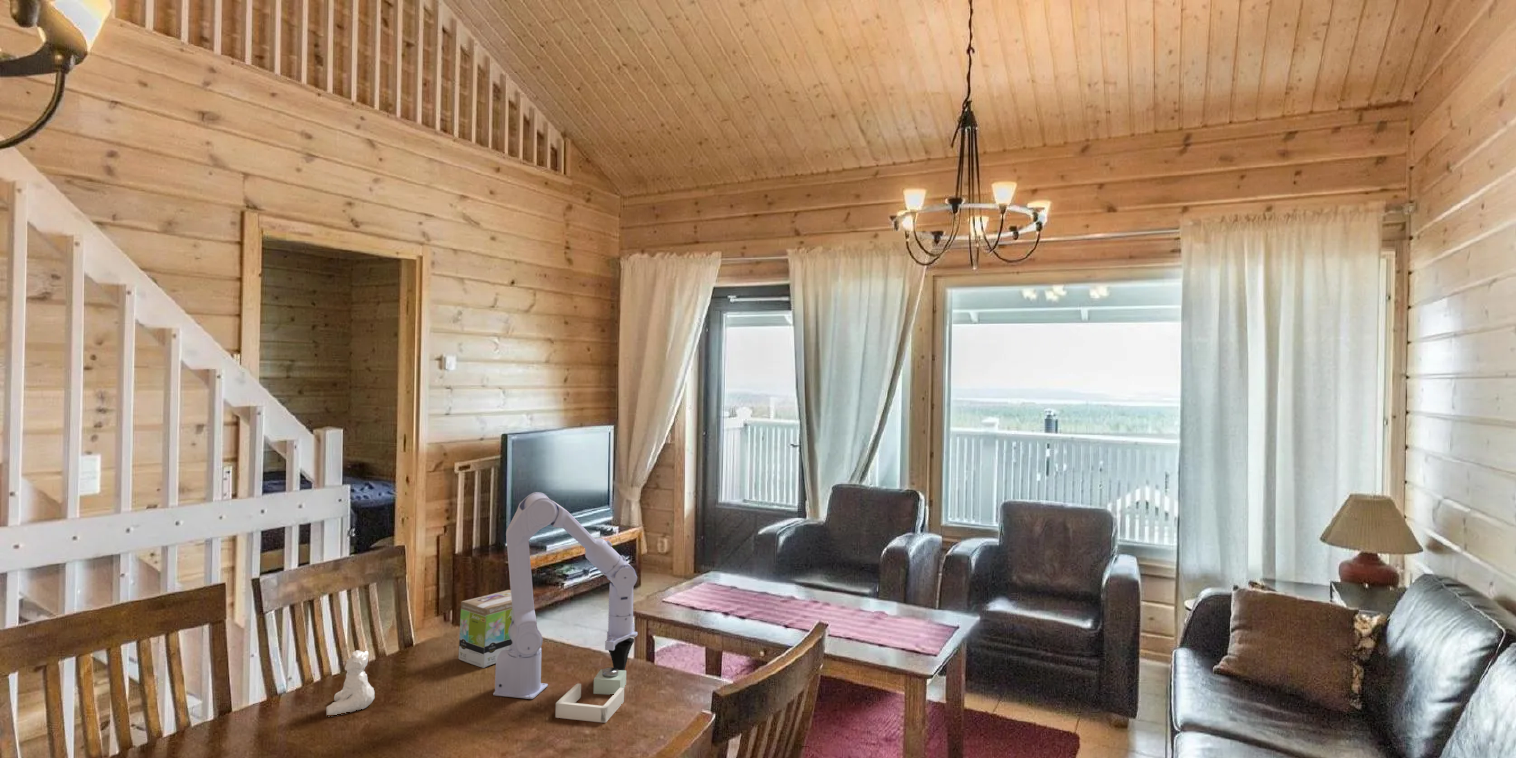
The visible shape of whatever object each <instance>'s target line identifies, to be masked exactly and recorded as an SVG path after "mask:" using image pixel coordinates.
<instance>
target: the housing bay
mask: <svg viewBox="0 0 1516 758" xmlns="http://www.w3.org/2000/svg"><path fill="white" fill-rule="evenodd" d="M581 698H582V683H576V684H575V685H574V686H573V687H572V688H570V689H569V690H568V691H567V692H566V693H565V694H564V695H563V696H562V697H560V698H559V700H557V701H556V702H555V714H554V715H555V718H557V719H559V718H560V719H565V720H566V719H567V720H575V721H576V720H577V721H586V722H594V723H603V724H604V723H605V724H606V723H607V722H608V720H610V719H611V717H612V716H613V715H614V714H615V712H617V710H618V709H619V708H620V707H621V706H622V705H623V703H624V702H625V687H624V688H619V689H618V690H617V691H616V692H615V694H614V695H612V696H611V697H610V698H609V699H608V700H607V701H606V702H605V703H604V704H603V705H597V704H588V703H578V702H577V701H579V700H580V699H581ZM621 704H622V705H621Z"/></svg>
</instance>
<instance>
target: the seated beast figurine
mask: <svg viewBox="0 0 1516 758" xmlns="http://www.w3.org/2000/svg"><path fill="white" fill-rule="evenodd" d="M369 656H370V653H369V651H368V650H365V651H362V650H360V649H358V650H357V649H356V650H355V651H352V653H351V656H350V657H349V658H347V659H346V665H345V667H344V670H345V671H346V673H345V679H344V682H343V686H342V689H341V690H340V691H337V692H336V693H335V694H334V698H333V699H334V700H333V701H334V702H333V701H332V703H331V704H329V705H327V706H326V707H325V708H326V709H325V710H326V716H327V715H337V714H341V713H345V714H347V713H346V712H350V713H353V712H357V711H360V710H361V709H362V710H365V709H366V708H368V707H369V705H371V704H372V703H373V701H374V700H375V694H376V693H375V690H374V689H375V687H373V686H372V685H371V684H370V682H369V679H368V674H367V673H366V671H365V669H366V667H367V666H368V664H369V663H368V662H369ZM356 710H357V711H356ZM341 715H342V714H341ZM337 716H338V715H337Z"/></svg>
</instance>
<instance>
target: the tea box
mask: <svg viewBox="0 0 1516 758" xmlns="http://www.w3.org/2000/svg"><path fill="white" fill-rule="evenodd" d="M511 613H512V600H511V589H506V590H502V591H498V592H494V593H490V594H486V595H482V596H478V597H474V598H469V599H466V600H462V601H461V602H460V616H459V617H460V619H459V644H458V660H460V661H462V662H464V663H468V664H471V665H474V666H475V667H480V668H481V669H484V668H486V667H489V666H491V665H492V666H493V665H494V664H495V665H496V661H497V658H498V655H499V654H500V652H501V651H503V650H508V649H509V648H510V646H511V644H512V640H511V639H510V637H509V633H508V631H509V627H510V624H511V621H512V616H511Z"/></svg>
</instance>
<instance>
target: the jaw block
mask: <svg viewBox="0 0 1516 758" xmlns="http://www.w3.org/2000/svg"><path fill="white" fill-rule="evenodd" d="M625 685H626V686H627V670H626V669H625V670H618V669H617V668H614V667H609V666H608V667H604V668H600V670H599V671H598V673H597V674H596V675H595V677H594V678H593V695H596V694H597V695H610V694H615V692H616V691H617V690H618V689H619V688H624V689H625V687H626V686H625Z"/></svg>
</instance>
